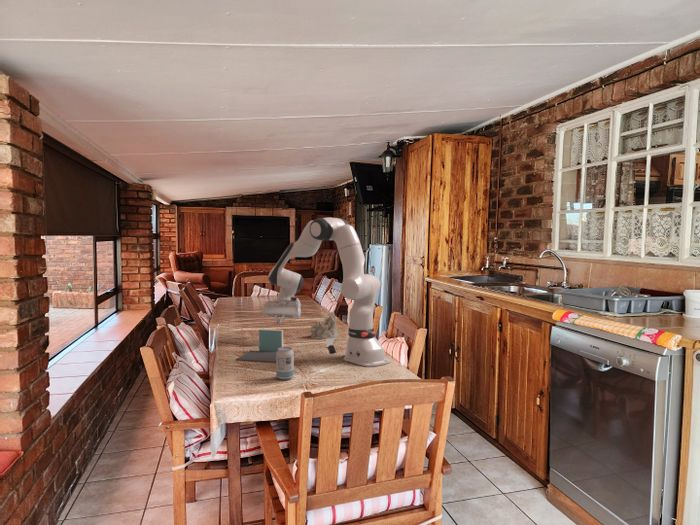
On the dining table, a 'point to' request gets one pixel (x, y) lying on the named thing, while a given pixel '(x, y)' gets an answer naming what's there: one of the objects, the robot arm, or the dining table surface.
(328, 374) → the dining table surface
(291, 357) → the beverage can
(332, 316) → the jagged grey rock
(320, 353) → the dining table surface
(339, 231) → the robot arm
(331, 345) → the kitchen cleaver
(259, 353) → the mat
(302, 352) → the dining table surface
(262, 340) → the tile
